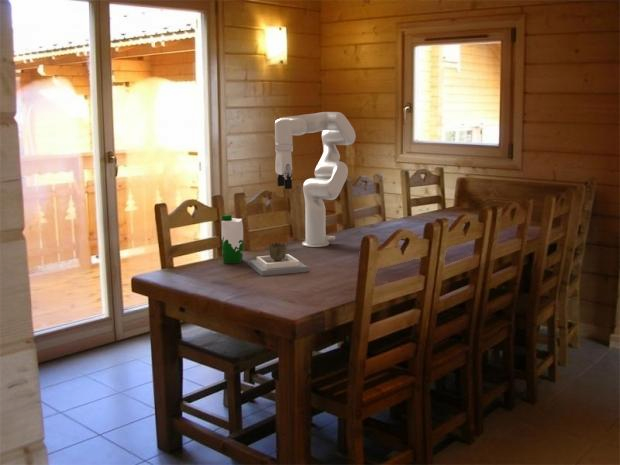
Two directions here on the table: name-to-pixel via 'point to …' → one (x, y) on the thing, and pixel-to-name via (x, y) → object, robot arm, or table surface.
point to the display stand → (277, 265)
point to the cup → (277, 251)
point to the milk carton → (232, 239)
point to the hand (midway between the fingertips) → (284, 187)
